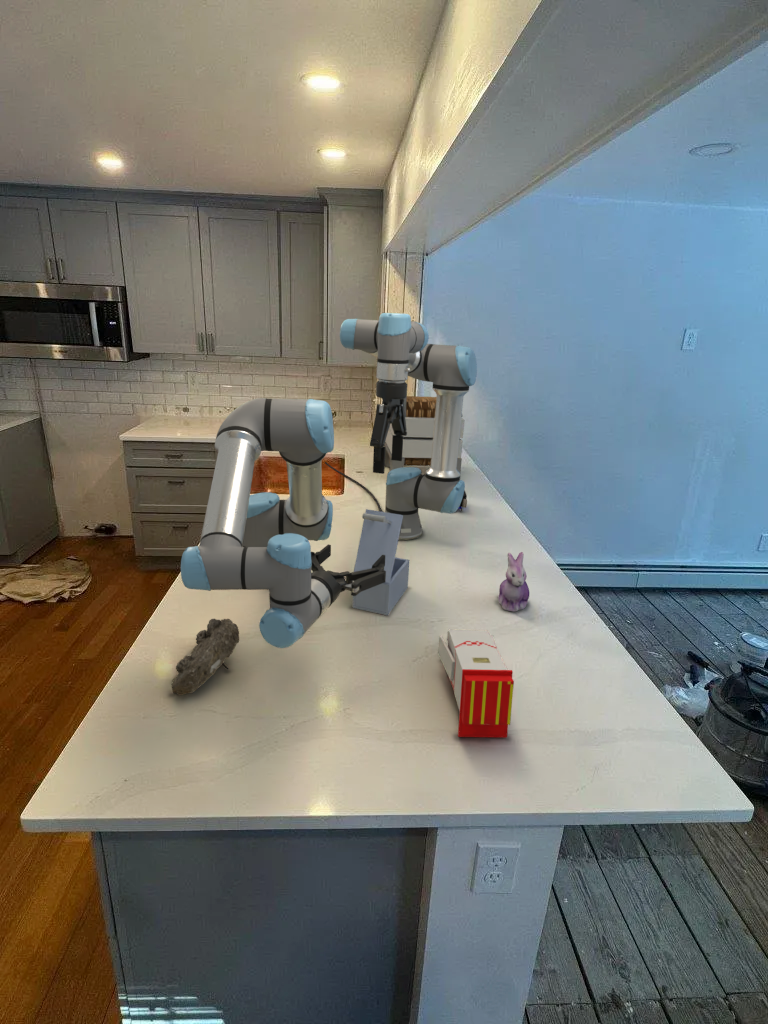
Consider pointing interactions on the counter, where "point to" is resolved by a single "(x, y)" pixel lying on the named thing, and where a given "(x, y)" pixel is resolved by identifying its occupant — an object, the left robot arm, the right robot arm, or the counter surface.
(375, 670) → the counter surface
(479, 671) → the toy
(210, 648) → the fossil
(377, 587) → the chest
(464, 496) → the figurine character
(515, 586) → the figurine
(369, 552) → the lid
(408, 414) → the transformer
